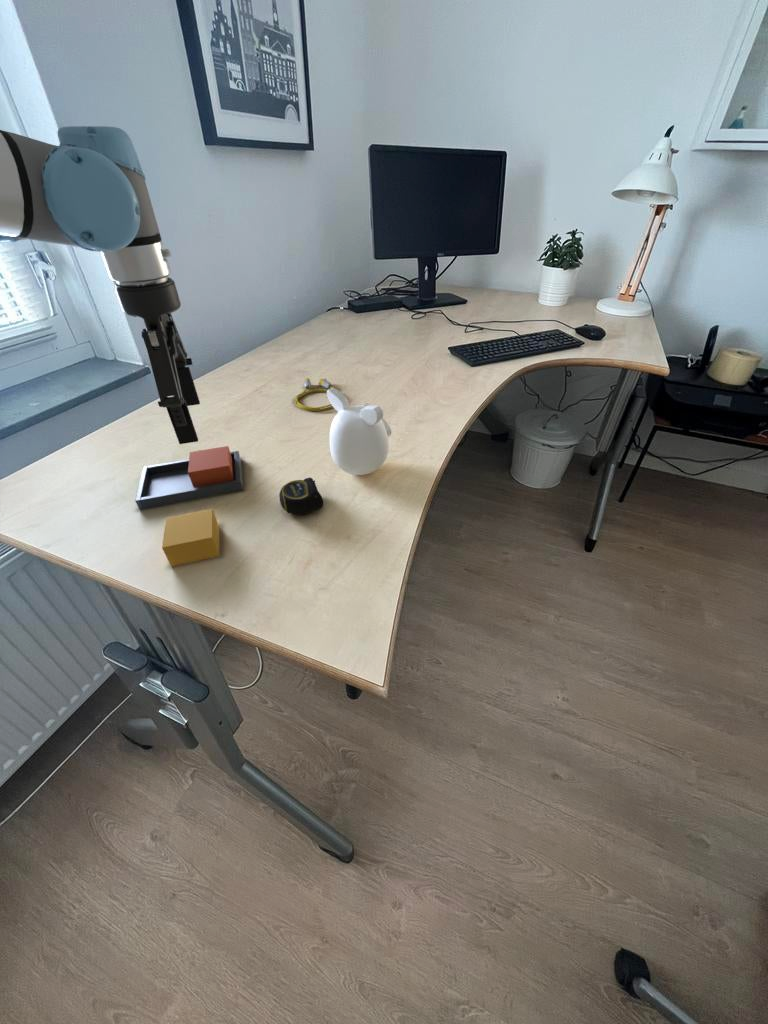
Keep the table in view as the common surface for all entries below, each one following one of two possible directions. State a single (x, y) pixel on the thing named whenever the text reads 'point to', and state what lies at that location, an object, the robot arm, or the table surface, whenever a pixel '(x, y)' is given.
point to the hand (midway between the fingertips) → (190, 422)
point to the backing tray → (180, 484)
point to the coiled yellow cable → (307, 386)
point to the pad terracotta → (210, 467)
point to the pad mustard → (191, 537)
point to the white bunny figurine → (357, 436)
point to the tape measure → (300, 497)
